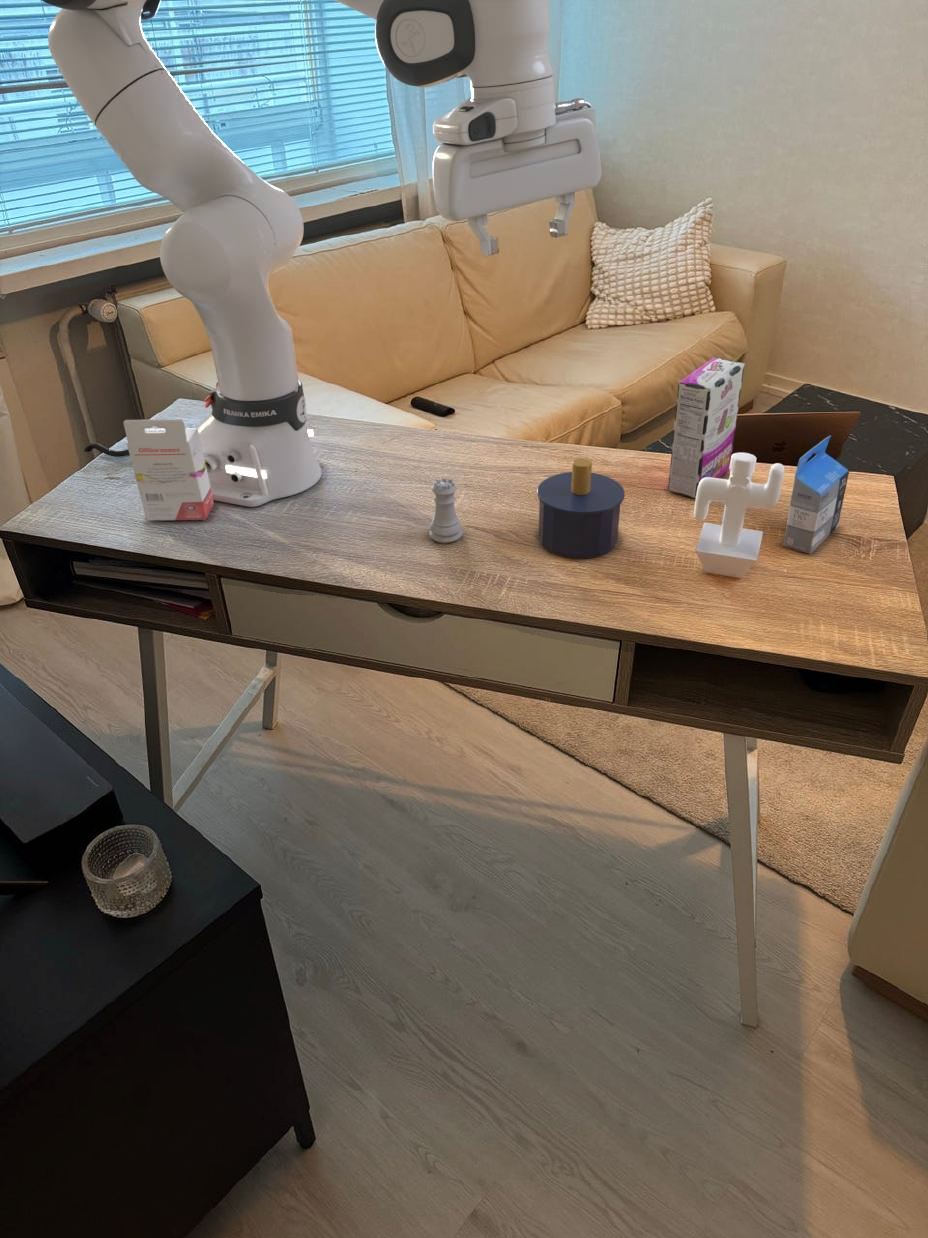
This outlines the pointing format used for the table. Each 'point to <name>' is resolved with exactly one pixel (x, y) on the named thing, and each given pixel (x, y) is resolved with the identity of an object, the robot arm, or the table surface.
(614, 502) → the tin lid
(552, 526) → the tin
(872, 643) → the table surface
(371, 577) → the table surface
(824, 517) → the label tape box
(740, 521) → the figurine
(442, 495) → the rook chess piece
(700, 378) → the candy bar box
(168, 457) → the ink cartridge box
